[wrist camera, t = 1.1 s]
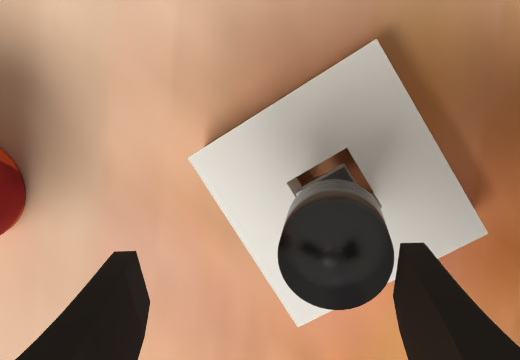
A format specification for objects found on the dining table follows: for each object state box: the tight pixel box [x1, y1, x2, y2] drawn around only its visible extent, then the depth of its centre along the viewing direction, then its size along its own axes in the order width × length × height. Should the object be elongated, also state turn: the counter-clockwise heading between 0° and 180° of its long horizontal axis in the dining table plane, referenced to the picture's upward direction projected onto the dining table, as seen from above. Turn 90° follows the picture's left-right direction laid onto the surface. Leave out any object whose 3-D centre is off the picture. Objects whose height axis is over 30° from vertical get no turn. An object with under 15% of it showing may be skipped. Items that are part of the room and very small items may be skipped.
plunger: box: [277, 163, 394, 310], centre depth 18 cm, size 4×4×7 cm
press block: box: [188, 39, 488, 327], centre depth 24 cm, size 10×10×3 cm
